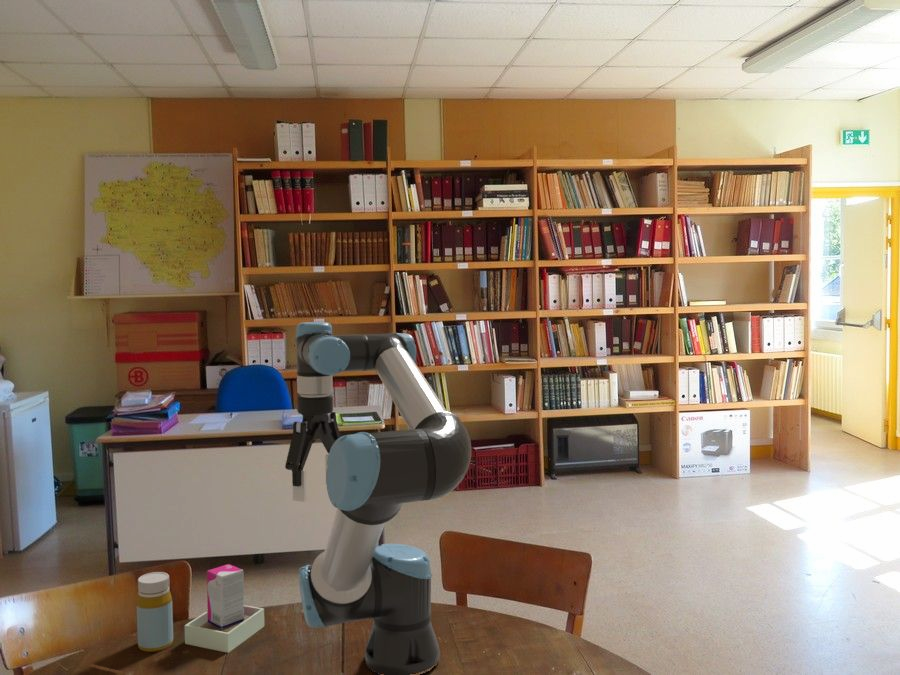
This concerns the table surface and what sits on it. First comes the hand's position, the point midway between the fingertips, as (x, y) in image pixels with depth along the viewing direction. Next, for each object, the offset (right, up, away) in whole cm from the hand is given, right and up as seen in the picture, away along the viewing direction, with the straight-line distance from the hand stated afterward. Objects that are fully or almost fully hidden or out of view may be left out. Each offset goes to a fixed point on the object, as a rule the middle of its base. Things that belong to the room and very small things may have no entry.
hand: (316, 492), depth 170 cm
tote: (-20, -32, +1) cm, 37 cm away
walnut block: (-20, -31, +1) cm, 37 cm away
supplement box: (-20, -28, +1) cm, 35 cm away
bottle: (-33, -32, -3) cm, 47 cm away
